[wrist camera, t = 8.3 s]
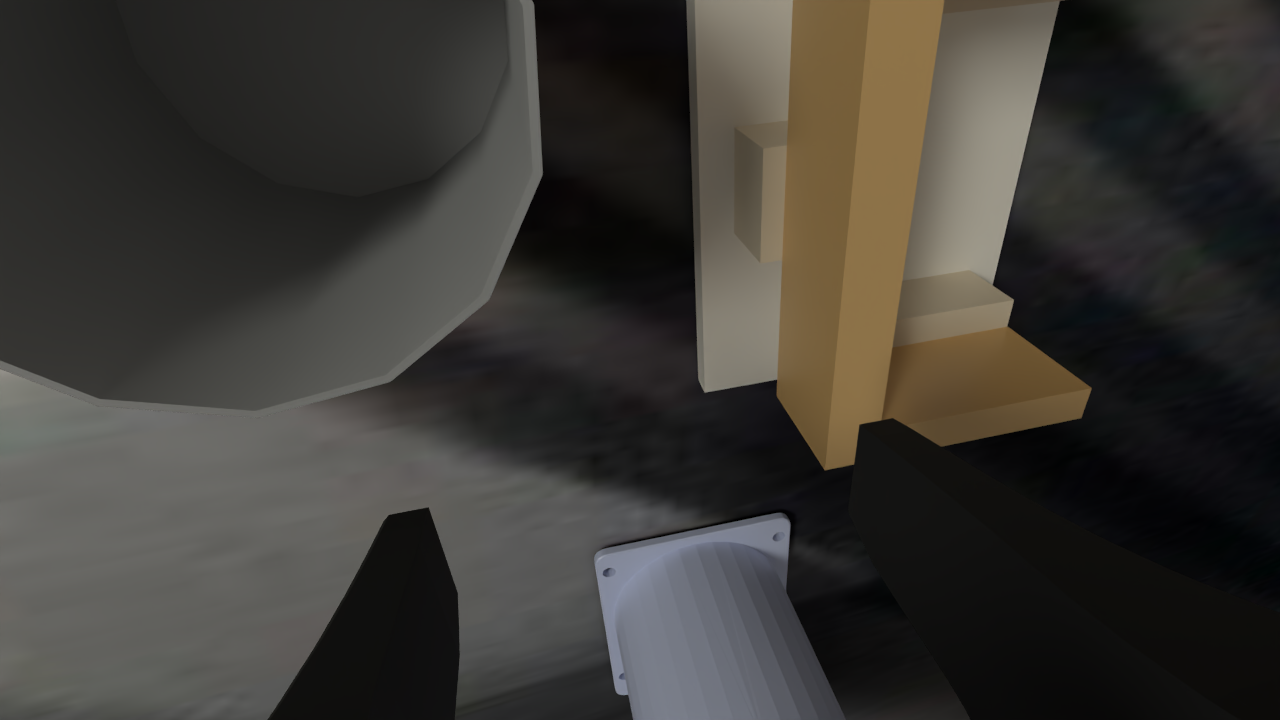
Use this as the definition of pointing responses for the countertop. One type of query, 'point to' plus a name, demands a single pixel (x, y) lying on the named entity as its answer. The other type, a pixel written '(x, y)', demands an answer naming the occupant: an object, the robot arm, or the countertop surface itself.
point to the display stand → (945, 193)
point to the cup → (254, 191)
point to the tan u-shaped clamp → (879, 249)
